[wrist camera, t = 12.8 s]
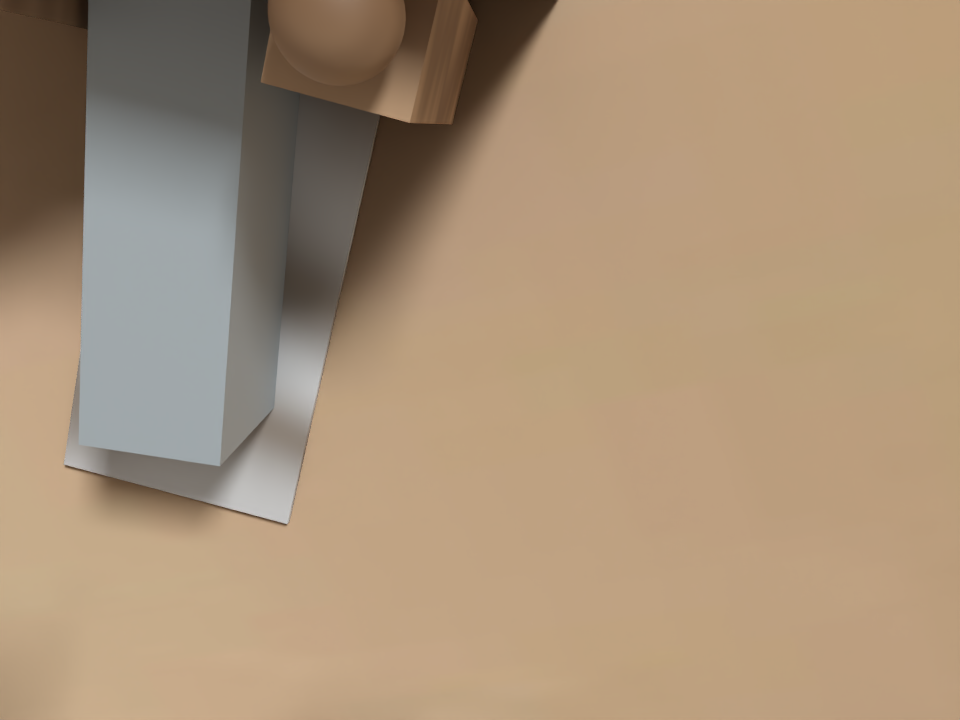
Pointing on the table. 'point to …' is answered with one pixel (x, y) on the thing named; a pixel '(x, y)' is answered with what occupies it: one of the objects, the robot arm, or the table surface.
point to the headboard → (308, 210)
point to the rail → (182, 227)
